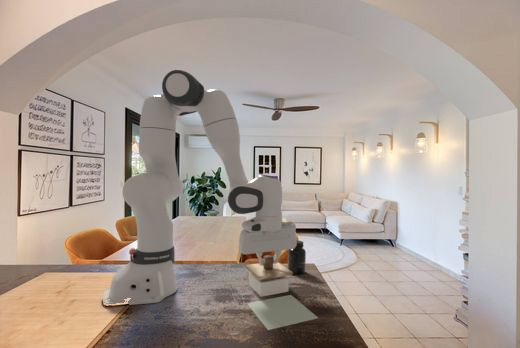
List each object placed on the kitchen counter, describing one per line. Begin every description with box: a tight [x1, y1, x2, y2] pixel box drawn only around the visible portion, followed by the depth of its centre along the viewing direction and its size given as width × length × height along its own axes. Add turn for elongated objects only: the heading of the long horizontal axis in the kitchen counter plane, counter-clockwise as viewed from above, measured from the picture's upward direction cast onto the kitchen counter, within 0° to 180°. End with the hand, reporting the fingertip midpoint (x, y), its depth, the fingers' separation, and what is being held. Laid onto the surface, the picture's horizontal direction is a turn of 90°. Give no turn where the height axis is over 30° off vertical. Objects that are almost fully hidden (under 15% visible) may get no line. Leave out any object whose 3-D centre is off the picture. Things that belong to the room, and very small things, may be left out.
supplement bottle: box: [287, 239, 307, 276], centre depth 111 cm, size 7×7×12 cm
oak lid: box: [244, 254, 294, 280], centre depth 95 cm, size 12×12×5 cm
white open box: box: [248, 271, 290, 298], centre depth 95 cm, size 10×10×5 cm
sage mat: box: [246, 294, 319, 331], centre depth 80 cm, size 15×15×1 cm
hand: (268, 264), depth 95 cm, fingers closed on oak lid, 3 cm apart
